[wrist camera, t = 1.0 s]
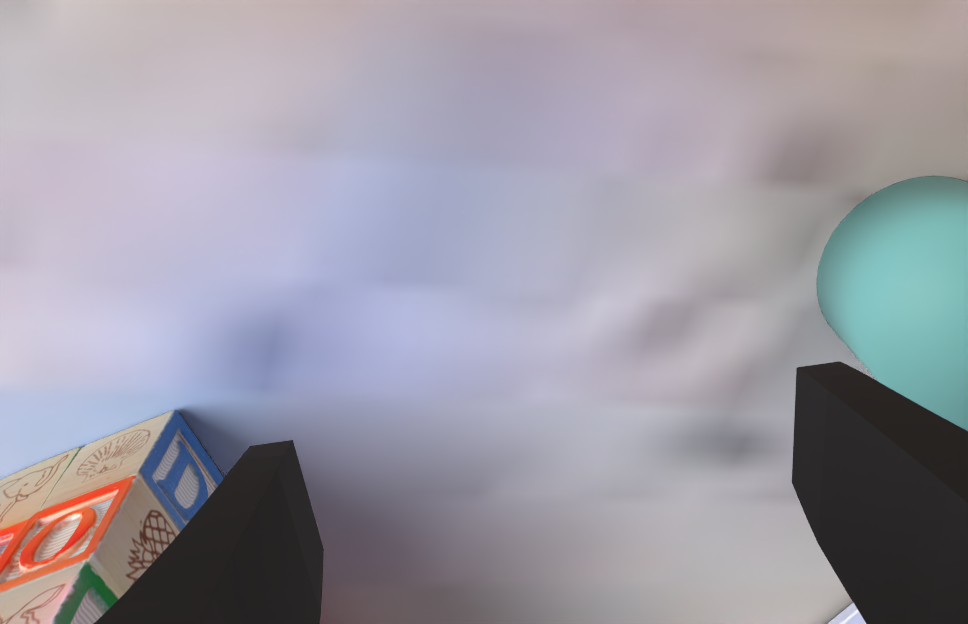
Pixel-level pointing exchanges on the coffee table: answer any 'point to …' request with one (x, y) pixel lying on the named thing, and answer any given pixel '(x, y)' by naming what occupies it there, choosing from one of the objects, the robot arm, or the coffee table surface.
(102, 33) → the coffee table surface
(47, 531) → the stack of blocks
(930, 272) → the teal rounded piece
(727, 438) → the coffee table surface
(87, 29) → the coffee table surface
